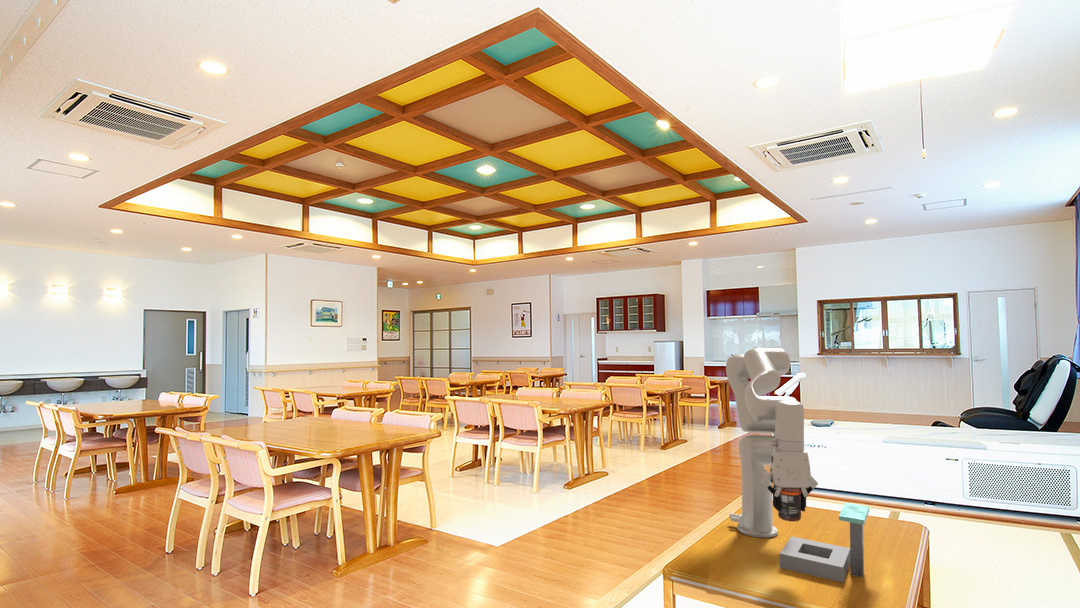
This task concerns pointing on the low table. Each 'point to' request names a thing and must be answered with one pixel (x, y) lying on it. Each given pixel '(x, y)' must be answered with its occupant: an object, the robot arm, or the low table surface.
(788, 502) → the supplement bottle
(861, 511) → the teal-capped gray pillar
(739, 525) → the robot arm
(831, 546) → the socket block
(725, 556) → the low table surface
